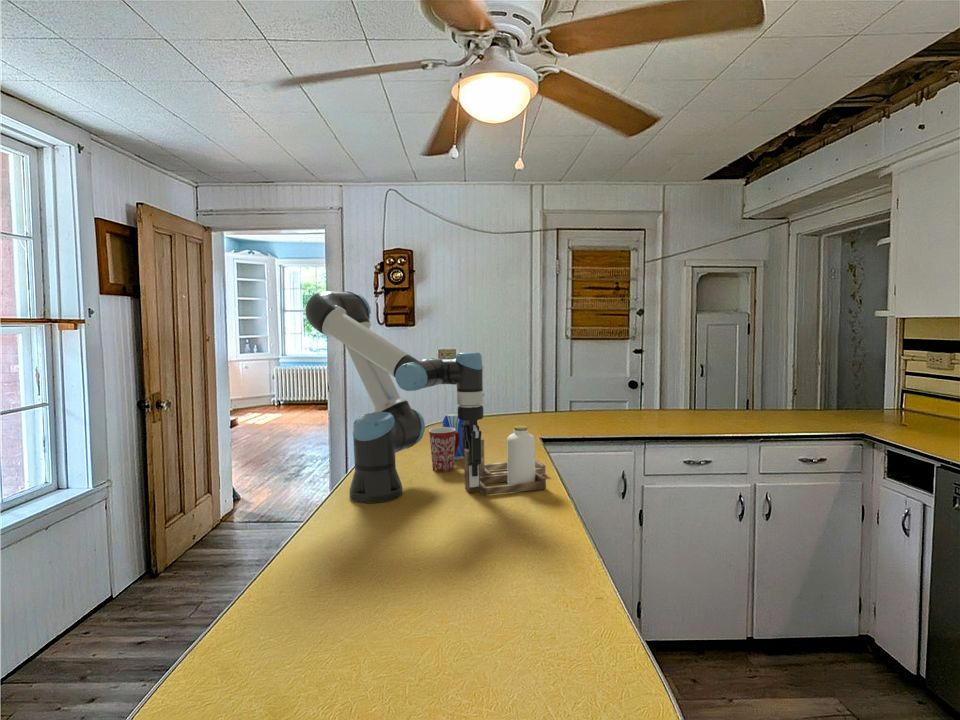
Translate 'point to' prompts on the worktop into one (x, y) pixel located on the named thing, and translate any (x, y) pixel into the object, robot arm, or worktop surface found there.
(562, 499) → the worktop surface
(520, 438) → the potion bottle
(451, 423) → the beer can
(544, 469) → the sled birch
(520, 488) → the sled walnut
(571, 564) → the worktop surface
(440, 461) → the mug
